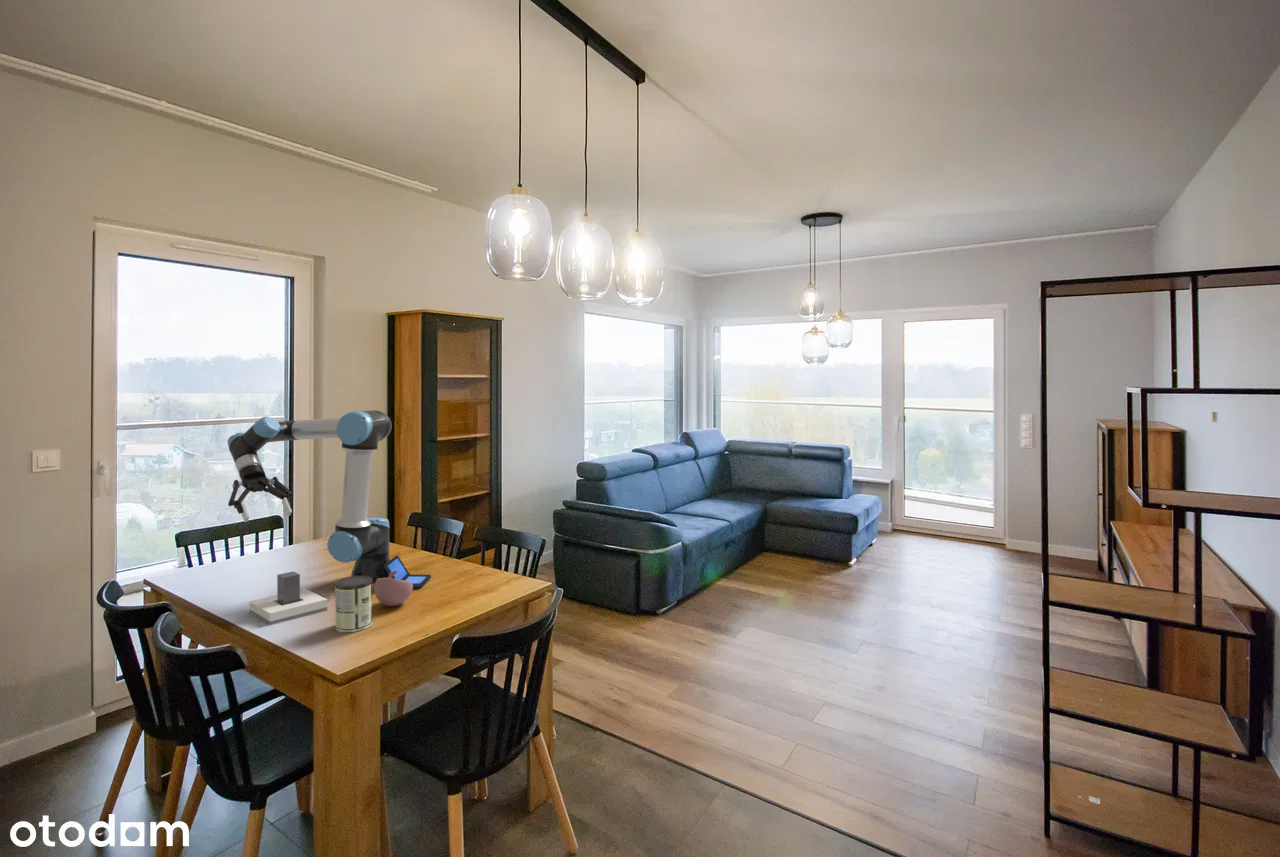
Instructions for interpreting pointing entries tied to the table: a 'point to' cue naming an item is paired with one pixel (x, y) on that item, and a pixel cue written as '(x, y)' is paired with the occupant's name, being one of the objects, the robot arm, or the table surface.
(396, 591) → the mortar and pestle
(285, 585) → the plug
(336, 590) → the coffee can
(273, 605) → the socket
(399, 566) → the handheld game console
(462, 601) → the table surface
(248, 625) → the table surface
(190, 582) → the table surface
